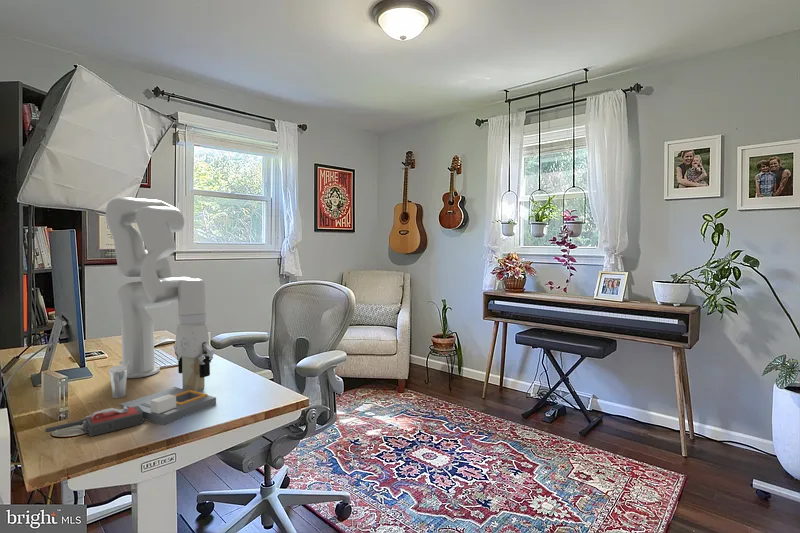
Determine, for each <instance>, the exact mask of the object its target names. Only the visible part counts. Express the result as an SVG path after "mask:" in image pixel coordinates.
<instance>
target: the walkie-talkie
mask: <svg viewBox="0 0 800 533" xmlns="http://www.w3.org/2000/svg"><path fill="white" fill-rule="evenodd" d="M123 408H124V409H121V410H120V409H117V408H115V407H114V408H113V407H110V408H109V407H108V408H105V409H100V410H95V411H94V412H92V413H91V414H90V415H86V416H85V417H84V418H83V419H79V420H75V421H72V422H67V423H63V424H58V425H55V426H50V427H47V428H45V430H44V432H45V433H50V432H55V431H59V430H60V431H61V430H63V429H68V428H72V427H76V426H82V429H83V432H84V434H88V435H89V436H90V437H94V436H98V435H103V434H106V433H110V432H115V431H119V430H122V429H126V428H131V427H135V426H138V425H141V424H142V423H144V419H143V410H142V409H141V408H140V407H139V406H134V407H130V408H127V407H126V406H124V407H123Z"/></svg>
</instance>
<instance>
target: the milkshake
mask: <svg viewBox="0 0 800 533" xmlns="http://www.w3.org/2000/svg"><path fill="white" fill-rule="evenodd" d="M128 364H129V361H128ZM128 364H127V366H128ZM127 366H122V365H119V364H118V365H115V366H111V367H110V369H109V370H108V374H109V378H110V383H111V384H110V385H111V393H112V398H113V399H121V398H124V397H126V395H127V379H128V378H127Z"/></svg>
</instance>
